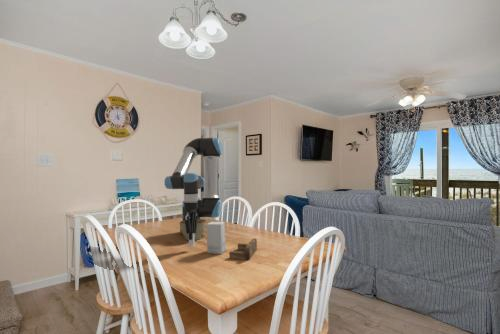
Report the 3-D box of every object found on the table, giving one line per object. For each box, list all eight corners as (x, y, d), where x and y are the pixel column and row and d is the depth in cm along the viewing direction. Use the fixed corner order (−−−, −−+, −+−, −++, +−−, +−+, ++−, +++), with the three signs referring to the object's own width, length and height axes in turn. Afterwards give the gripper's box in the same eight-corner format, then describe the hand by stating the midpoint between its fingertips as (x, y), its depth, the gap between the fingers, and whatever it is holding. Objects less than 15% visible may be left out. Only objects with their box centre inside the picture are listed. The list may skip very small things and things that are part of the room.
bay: (238, 248, 151) (238, 237, 151) (256, 249, 148) (256, 238, 148) (229, 258, 135) (229, 246, 135) (249, 260, 133) (249, 247, 133)
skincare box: (225, 250, 147) (225, 221, 147) (221, 254, 141) (220, 224, 141) (211, 249, 150) (211, 221, 149) (206, 253, 143) (205, 223, 143)
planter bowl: (208, 235, 180) (208, 218, 180) (202, 242, 164) (201, 224, 164) (184, 235, 181) (184, 218, 181) (175, 242, 165) (175, 224, 165)
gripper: (192, 203, 141) (192, 249, 141) (202, 200, 154) (203, 242, 154) (178, 203, 143) (179, 248, 143) (190, 199, 156) (190, 241, 156)
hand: (191, 245), depth 149 cm, fingers closed
